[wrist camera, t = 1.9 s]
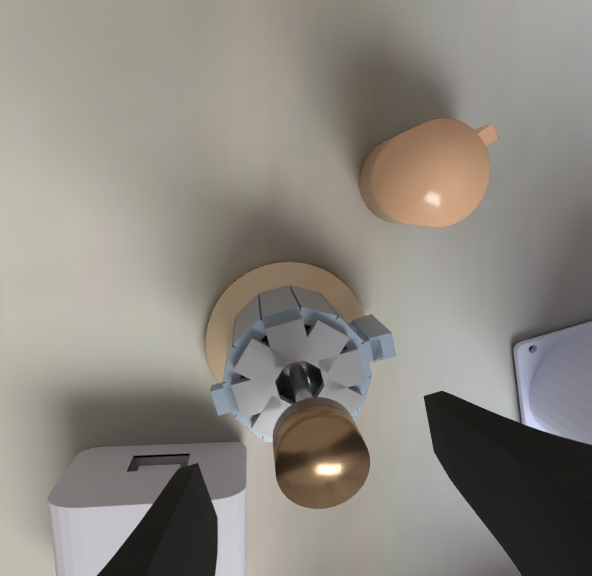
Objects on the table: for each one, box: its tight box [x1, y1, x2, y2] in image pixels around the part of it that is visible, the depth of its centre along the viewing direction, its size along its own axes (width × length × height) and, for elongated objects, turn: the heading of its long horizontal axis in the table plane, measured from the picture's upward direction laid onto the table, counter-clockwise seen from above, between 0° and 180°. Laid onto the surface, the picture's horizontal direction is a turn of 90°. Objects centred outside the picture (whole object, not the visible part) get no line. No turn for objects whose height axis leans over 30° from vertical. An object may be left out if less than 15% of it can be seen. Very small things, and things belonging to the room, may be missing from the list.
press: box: [206, 261, 396, 442], centre depth 19 cm, size 9×9×5 cm
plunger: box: [262, 325, 370, 509], centre depth 15 cm, size 4×4×7 cm
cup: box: [360, 118, 499, 227], centre depth 18 cm, size 6×4×5 cm
